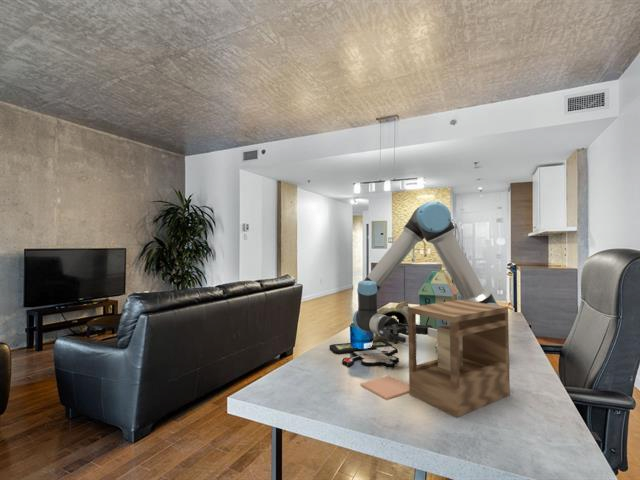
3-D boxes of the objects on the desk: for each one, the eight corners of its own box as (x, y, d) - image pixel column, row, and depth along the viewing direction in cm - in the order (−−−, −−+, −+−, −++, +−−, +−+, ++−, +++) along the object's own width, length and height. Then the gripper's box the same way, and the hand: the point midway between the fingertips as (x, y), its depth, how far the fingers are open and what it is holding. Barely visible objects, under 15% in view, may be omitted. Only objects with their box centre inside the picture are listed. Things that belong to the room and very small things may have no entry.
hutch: (461, 377, 114) (460, 299, 114) (509, 395, 100) (508, 306, 100) (409, 394, 101) (408, 307, 101) (456, 417, 87) (454, 316, 88)
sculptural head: (377, 304, 180) (359, 307, 158) (417, 299, 170) (404, 300, 149) (382, 339, 176) (365, 346, 155) (424, 335, 167) (411, 342, 145)
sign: (383, 339, 155) (419, 361, 126) (383, 343, 155) (419, 366, 126) (326, 345, 148) (350, 369, 119) (326, 349, 148) (350, 374, 119)
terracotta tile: (388, 377, 114) (388, 375, 114) (416, 390, 104) (416, 388, 104) (360, 385, 108) (360, 383, 108) (386, 400, 98) (386, 397, 98)
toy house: (459, 327, 180) (458, 270, 180) (453, 334, 166) (452, 272, 167) (426, 324, 189) (425, 269, 190) (417, 330, 175) (416, 271, 176)
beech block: (448, 363, 107) (448, 324, 107) (462, 368, 102) (462, 327, 102) (437, 366, 104) (437, 326, 104) (451, 371, 100) (451, 330, 100)
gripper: (409, 331, 134) (455, 344, 115) (357, 341, 121) (401, 358, 103) (408, 312, 134) (455, 322, 116) (357, 320, 121) (400, 332, 103)
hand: (430, 339), depth 109 cm, fingers open, 13 cm apart
